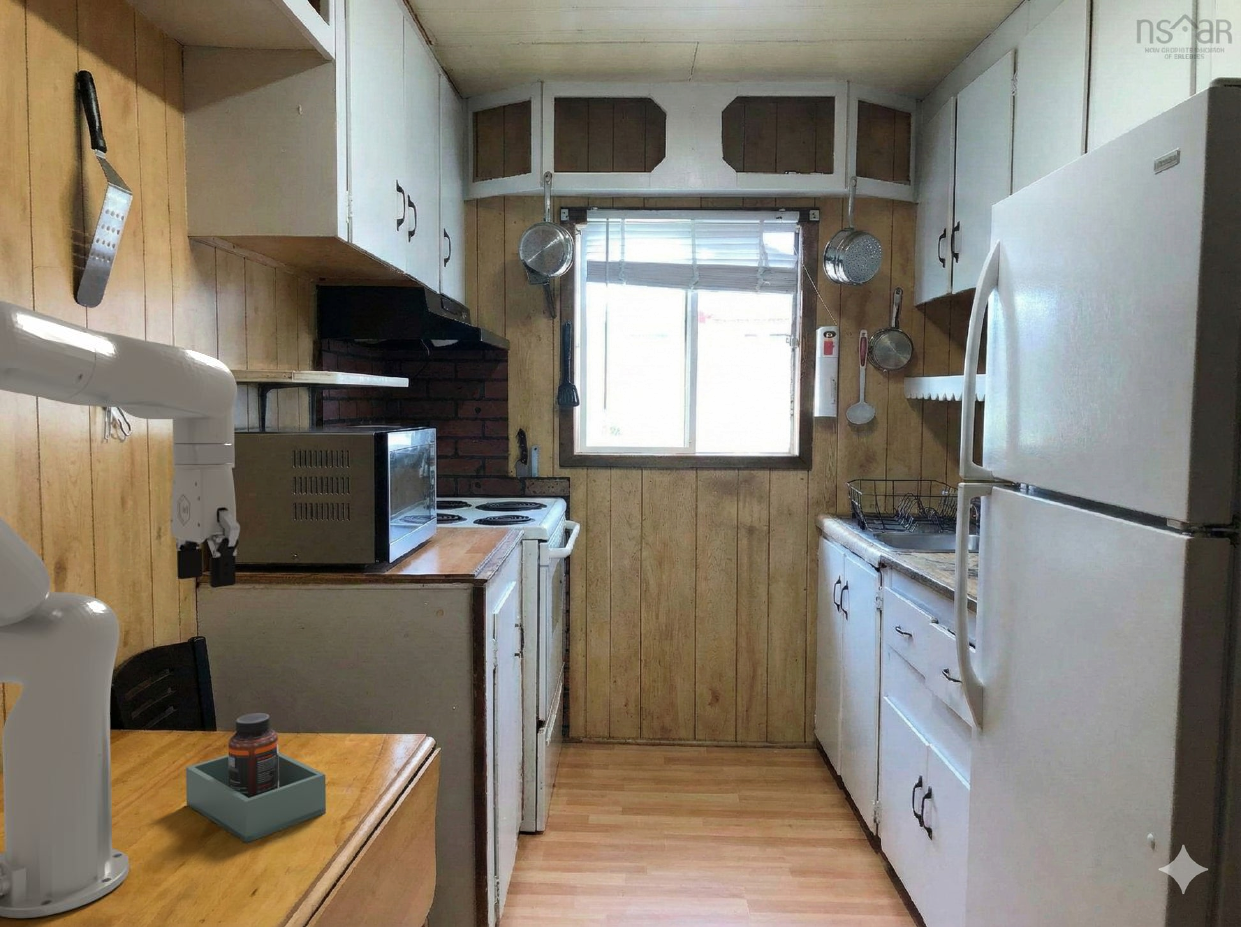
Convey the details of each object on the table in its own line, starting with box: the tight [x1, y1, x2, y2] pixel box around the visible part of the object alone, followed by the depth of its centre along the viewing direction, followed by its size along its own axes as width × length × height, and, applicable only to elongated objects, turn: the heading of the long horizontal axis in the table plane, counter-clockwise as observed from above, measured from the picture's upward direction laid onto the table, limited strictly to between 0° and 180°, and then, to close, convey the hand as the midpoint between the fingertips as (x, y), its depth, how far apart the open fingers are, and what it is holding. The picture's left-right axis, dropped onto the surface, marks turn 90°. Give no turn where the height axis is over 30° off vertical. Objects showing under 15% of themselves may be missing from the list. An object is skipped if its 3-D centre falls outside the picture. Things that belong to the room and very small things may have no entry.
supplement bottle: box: [227, 712, 279, 798], centre depth 108 cm, size 6×6×11 cm
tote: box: [185, 751, 327, 844], centre depth 108 cm, size 10×16×5 cm, turn 51°
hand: (206, 581), depth 114 cm, fingers open, 9 cm apart
